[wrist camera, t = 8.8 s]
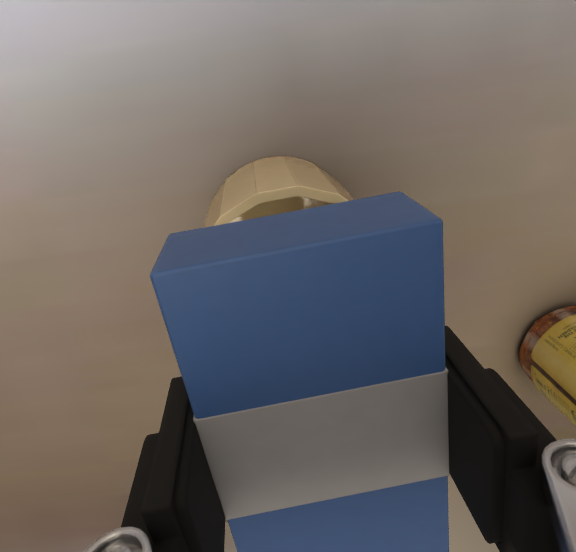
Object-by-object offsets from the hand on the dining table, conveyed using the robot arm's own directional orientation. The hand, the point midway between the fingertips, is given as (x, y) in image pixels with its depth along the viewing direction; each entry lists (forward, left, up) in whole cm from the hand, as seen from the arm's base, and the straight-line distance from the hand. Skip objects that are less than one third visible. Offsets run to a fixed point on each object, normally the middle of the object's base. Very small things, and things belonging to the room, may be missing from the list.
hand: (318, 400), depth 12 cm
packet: (0, 0, -1) cm, 1 cm away
